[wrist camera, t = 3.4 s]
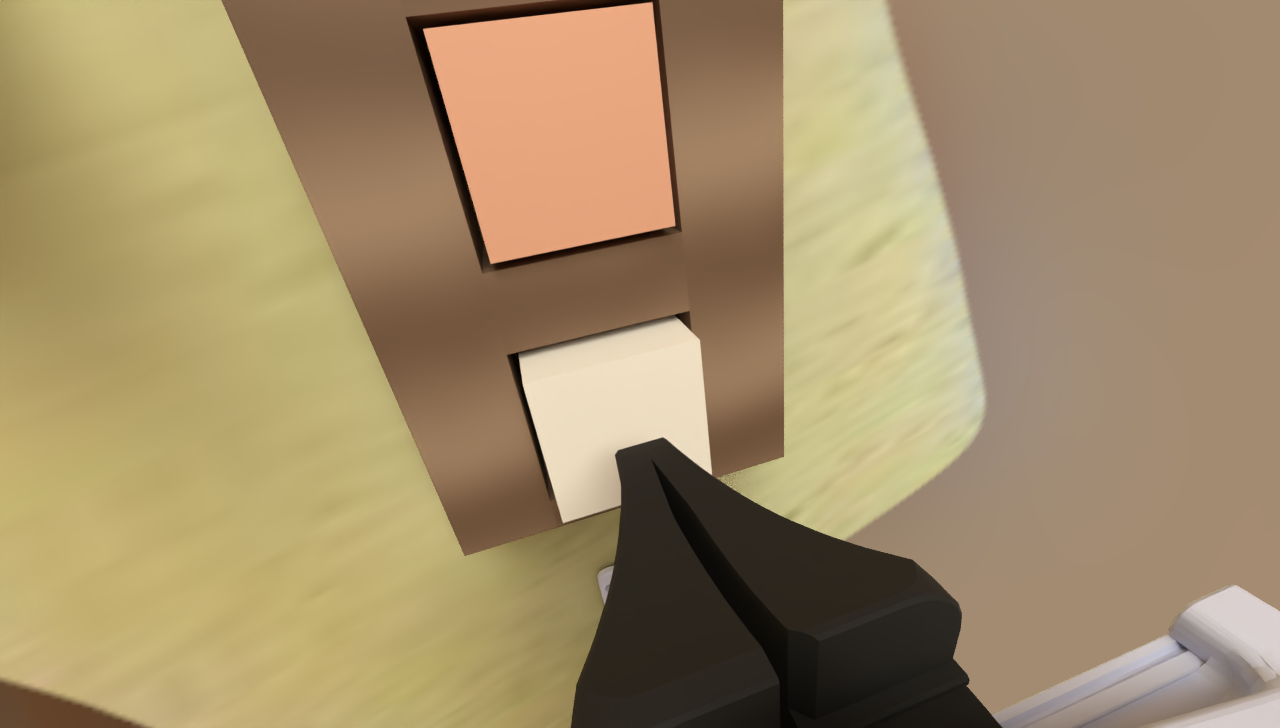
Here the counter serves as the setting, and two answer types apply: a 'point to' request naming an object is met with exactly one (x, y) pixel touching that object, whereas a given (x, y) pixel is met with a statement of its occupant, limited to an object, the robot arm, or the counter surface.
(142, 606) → the counter surface
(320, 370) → the counter surface
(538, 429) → the offwhite key
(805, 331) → the counter surface
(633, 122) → the terracotta key
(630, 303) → the key console
